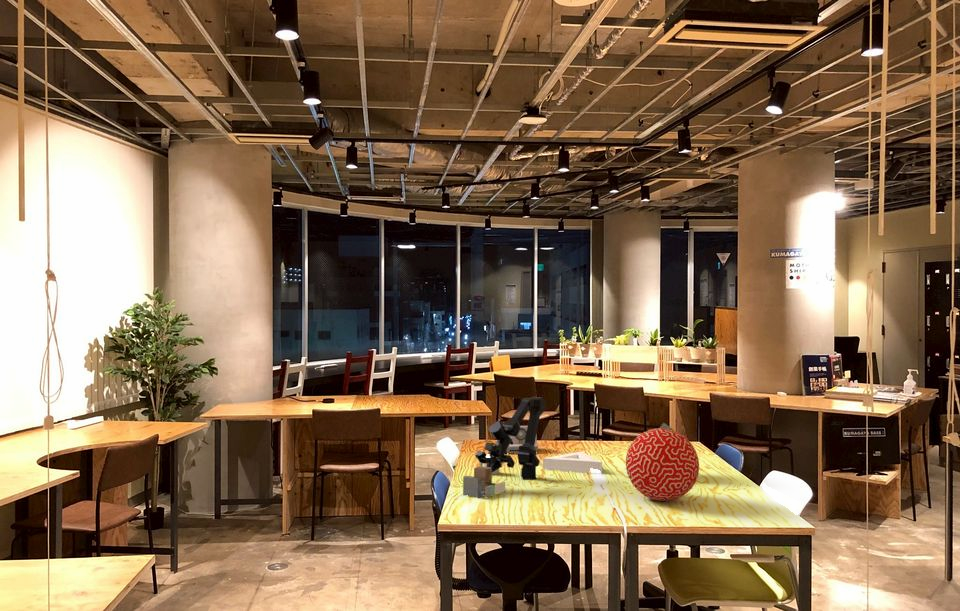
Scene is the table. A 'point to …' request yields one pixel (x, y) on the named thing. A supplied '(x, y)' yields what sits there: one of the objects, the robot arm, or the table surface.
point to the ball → (662, 464)
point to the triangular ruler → (572, 462)
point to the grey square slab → (472, 486)
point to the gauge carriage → (484, 476)
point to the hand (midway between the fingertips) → (486, 474)
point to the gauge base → (493, 489)
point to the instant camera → (519, 441)
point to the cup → (486, 466)
